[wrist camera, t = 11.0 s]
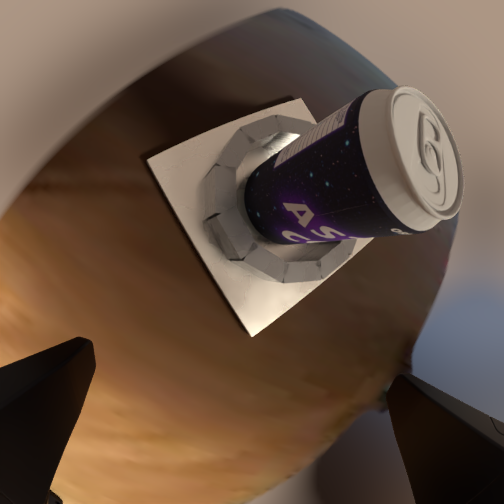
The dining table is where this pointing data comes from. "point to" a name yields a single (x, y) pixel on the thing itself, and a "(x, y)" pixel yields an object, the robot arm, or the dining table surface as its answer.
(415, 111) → the beverage can
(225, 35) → the dining table surface
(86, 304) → the dining table surface
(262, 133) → the collar seat
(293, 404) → the dining table surface
